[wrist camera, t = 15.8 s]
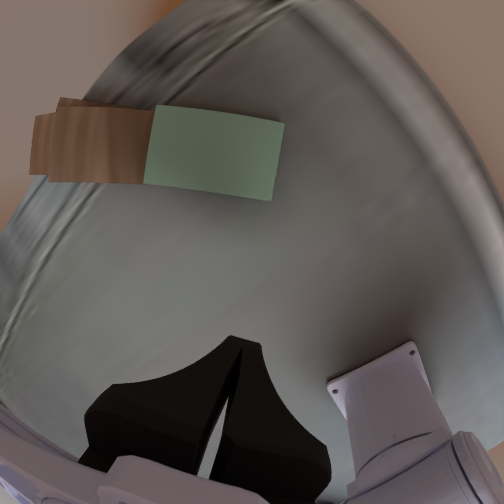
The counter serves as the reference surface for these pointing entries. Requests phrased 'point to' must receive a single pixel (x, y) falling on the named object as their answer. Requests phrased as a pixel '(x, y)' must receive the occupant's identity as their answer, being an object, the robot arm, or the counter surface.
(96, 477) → the robot arm
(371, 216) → the counter surface
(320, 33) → the counter surface
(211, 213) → the counter surface
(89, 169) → the walnut domino
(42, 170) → the walnut domino
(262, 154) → the green domino
